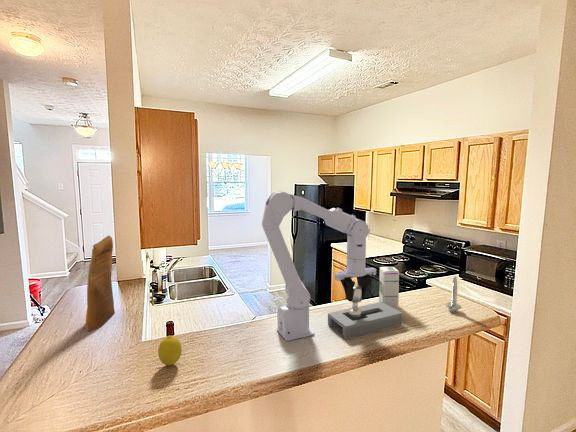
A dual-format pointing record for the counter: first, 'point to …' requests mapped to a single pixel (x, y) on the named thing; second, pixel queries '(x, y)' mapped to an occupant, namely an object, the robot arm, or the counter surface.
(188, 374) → the counter surface
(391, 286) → the syrup box
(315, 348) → the counter surface
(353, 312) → the steel peg
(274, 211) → the robot arm
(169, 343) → the lemon
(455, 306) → the screw
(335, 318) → the keyhole plate
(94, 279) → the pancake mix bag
